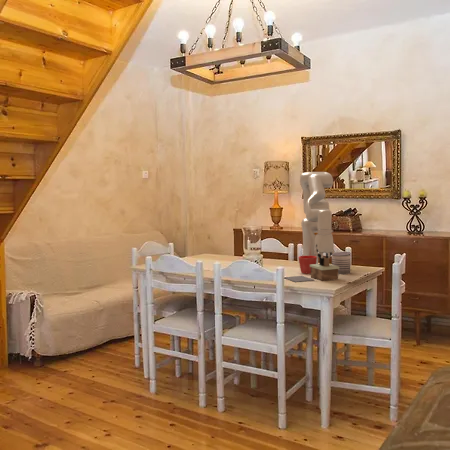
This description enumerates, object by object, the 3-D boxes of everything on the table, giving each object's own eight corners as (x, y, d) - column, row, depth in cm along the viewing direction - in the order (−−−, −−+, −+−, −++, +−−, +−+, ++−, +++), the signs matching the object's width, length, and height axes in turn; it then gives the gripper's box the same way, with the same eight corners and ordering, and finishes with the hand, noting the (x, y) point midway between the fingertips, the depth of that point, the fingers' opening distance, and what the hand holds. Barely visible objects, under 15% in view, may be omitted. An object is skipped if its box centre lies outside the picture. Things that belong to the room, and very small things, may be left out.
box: (310, 277, 293) (310, 266, 293) (326, 276, 297) (326, 265, 296) (322, 281, 282) (322, 270, 281) (338, 279, 285) (338, 268, 285)
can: (353, 274, 302) (353, 253, 301) (334, 274, 301) (334, 254, 300) (347, 271, 313) (347, 251, 312) (329, 271, 313) (329, 251, 312)
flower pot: (295, 272, 311) (295, 256, 311) (311, 270, 315) (311, 255, 314) (303, 274, 301) (303, 258, 301) (320, 273, 305) (320, 257, 304)
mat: (283, 278, 292) (283, 277, 292) (301, 276, 297) (301, 275, 297) (295, 282, 279) (295, 281, 279) (314, 280, 284) (314, 279, 284)
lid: (309, 268, 293) (309, 256, 292) (326, 267, 297) (326, 255, 296) (322, 272, 281) (322, 259, 280) (339, 270, 285) (339, 258, 284)
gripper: (333, 230, 294) (333, 263, 295) (308, 232, 288) (308, 265, 289) (340, 232, 287) (340, 265, 288) (315, 233, 281) (315, 267, 282)
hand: (324, 264), depth 289 cm, fingers closed on lid, 2 cm apart
